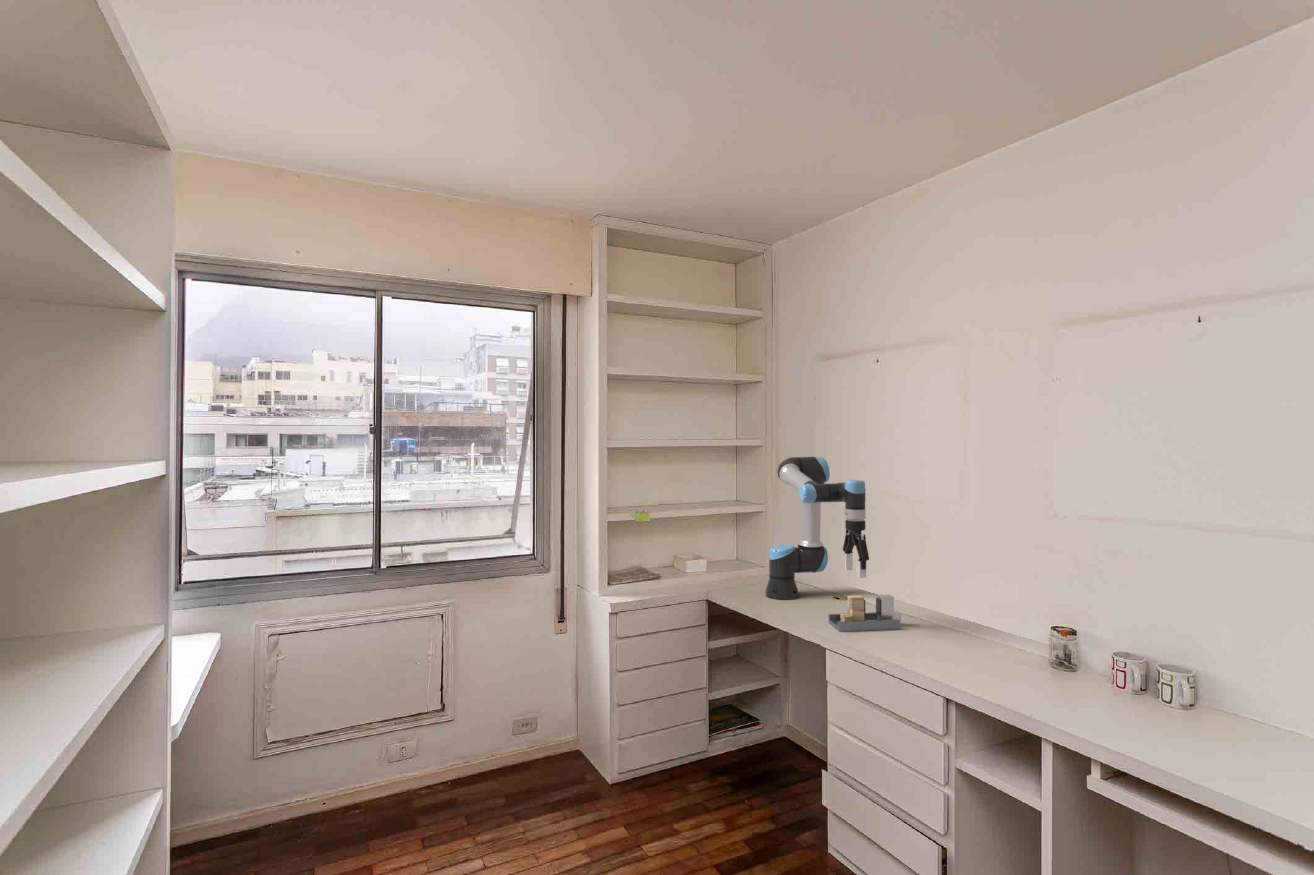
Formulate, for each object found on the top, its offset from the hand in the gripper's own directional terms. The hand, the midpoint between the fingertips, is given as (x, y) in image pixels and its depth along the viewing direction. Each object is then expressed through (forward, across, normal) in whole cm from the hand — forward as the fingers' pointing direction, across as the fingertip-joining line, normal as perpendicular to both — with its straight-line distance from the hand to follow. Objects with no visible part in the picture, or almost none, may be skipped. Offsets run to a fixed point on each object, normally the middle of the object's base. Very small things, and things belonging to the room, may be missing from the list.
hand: (855, 573), depth 262 cm
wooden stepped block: (+19, 0, -1) cm, 19 cm away
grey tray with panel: (+20, 0, +4) cm, 21 cm away
